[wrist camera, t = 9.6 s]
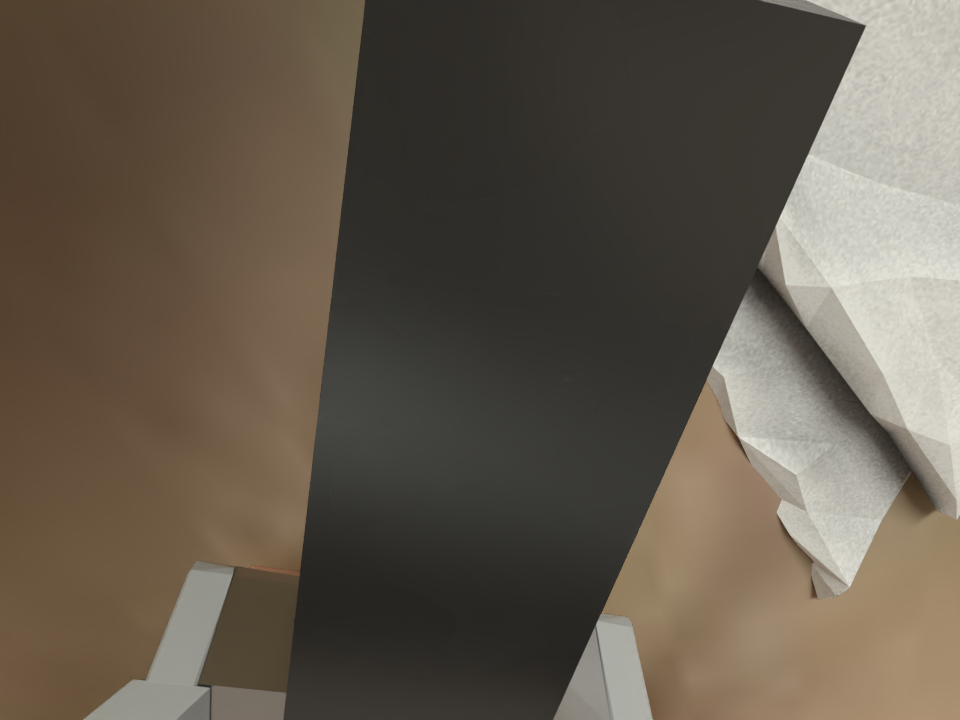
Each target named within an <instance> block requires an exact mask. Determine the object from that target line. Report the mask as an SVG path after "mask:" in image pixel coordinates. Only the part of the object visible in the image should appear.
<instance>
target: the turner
mask: <svg viewBox="0 0 960 720" xmlns="http://www.w3.org/2000/svg"><path fill="white" fill-rule="evenodd" d="M865 27H866V25H864V24H862V23H859V22H857V21H854V20H852V19H850V18H847V17H845V16H843V15H840V14H838V13H835V12H833V11H831V10H828V9H826V8H823V7H821V6H819V5H816V4H814V3H811V2H809V1H807V0H365V9H364V18H363V27H362V35H361V44H360V53H359V62H358V70H357V79H356V88H355V97H354V105H353V114H352V123H351V132H350V140H349V149H348V158H347V167H346V175H345V184H344V193H343V202H342V210H341V219H340V228H339V237H338V245H337V254H336V263H335V272H334V280H333V289H332V298H331V307H330V315H329V324H328V333H327V342H326V350H325V359H324V368H323V376H322V385H321V394H320V403H319V411H318V420H317V429H316V438H315V446H314V455H313V464H312V473H311V481H310V490H309V499H308V508H307V516H306V525H305V534H304V543H303V551H302V560H301V569H300V578H299V586H298V595H297V604H296V613H295V621H294V630H293V639H292V648H291V656H290V665H289V674H288V683H287V691H286V700H285V709H284V718H283V720H553V719H554V717H555V715H556V712H557V710H558V708H559V706H560V703H561V701H562V699H563V697H564V695H565V692H566V690H567V688H568V686H569V683H570V681H571V679H572V677H573V675H574V672H575V670H576V668H577V666H578V664H579V661H580V659H581V657H582V655H583V652H584V650H585V648H586V646H587V644H588V641H589V639H590V637H591V635H592V632H593V630H594V628H595V626H596V624H597V621H598V619H599V617H600V615H601V613H602V610H603V608H604V606H605V604H606V601H607V599H608V597H609V595H610V593H611V590H612V588H613V586H614V584H615V582H616V579H617V577H618V575H619V573H620V570H621V568H622V566H623V564H624V562H625V559H626V557H627V555H628V553H629V550H630V548H631V546H632V544H633V542H634V539H635V537H636V535H637V533H638V531H639V528H640V526H641V524H642V522H643V519H644V517H645V515H646V513H647V511H648V508H649V506H650V504H651V502H652V500H653V497H654V495H655V493H656V491H657V488H658V486H659V484H660V482H661V480H662V477H663V475H664V473H665V471H666V468H667V466H668V464H669V462H670V460H671V457H672V455H673V453H674V451H675V449H676V446H677V444H678V442H679V440H680V437H681V435H682V433H683V431H684V429H685V426H686V424H687V422H688V420H689V418H690V415H691V413H692V411H693V409H694V406H695V404H696V402H697V400H698V398H699V395H700V393H701V391H702V389H703V386H704V384H705V382H706V380H707V378H708V375H709V373H710V371H711V369H712V367H713V364H714V362H715V360H716V358H717V355H718V353H719V351H720V349H721V347H722V344H723V342H724V340H725V338H726V335H727V333H728V331H729V329H730V327H731V324H732V322H733V320H734V318H735V316H736V313H737V311H738V309H739V307H740V304H741V302H742V300H743V298H744V296H745V293H746V291H747V289H748V287H749V285H750V282H751V280H752V278H753V276H754V273H755V271H756V269H757V267H758V265H759V262H760V260H761V258H762V256H763V253H764V251H765V249H766V247H767V245H768V242H769V240H770V238H771V236H772V234H773V231H774V229H775V227H776V225H777V222H778V220H779V218H780V216H781V214H782V211H783V209H784V207H785V205H786V203H787V200H788V198H789V196H790V194H791V191H792V189H793V187H794V185H795V183H796V180H797V178H798V176H799V174H800V171H801V169H802V167H803V165H804V163H805V160H806V158H807V156H808V154H809V152H810V149H811V147H812V145H813V143H814V140H815V138H816V136H817V134H818V132H819V129H820V127H821V125H822V123H823V120H824V118H825V116H826V114H827V112H828V109H829V107H830V105H831V103H832V101H833V98H834V96H835V94H836V92H837V89H838V87H839V85H840V83H841V81H842V78H843V76H844V74H845V72H846V70H847V67H848V65H849V63H850V61H851V58H852V56H853V54H854V52H855V50H856V47H857V45H858V43H859V41H860V38H861V36H862V34H863V32H864V30H865Z"/></svg>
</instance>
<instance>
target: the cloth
mask: <svg viewBox="0 0 960 720" xmlns="http://www.w3.org/2000/svg"><path fill="white" fill-rule="evenodd" d="M807 1H809V2H811V3H814V4H816V5H819V6H821V7H823V8H826V9H828V10H831V11H833V12H835V13H838V14H840V15H843V16H845V17H847V18H850V19H852V20H854V21H857V22H859V23H862V24H864V25H866V27H865V30H864V32H863V34H862V36H861V38H860V41H859V43H858V45H857V47H856V50H855V52H854V54H853V56H852V58H851V61H850V63H849V65H848V67H847V70H846V72H845V74H844V76H843V78H842V81H841V83H840V85H839V87H838V89H837V92H836V94H835V96H834V98H833V101H832V103H831V105H830V107H829V109H828V112H827V114H826V116H825V118H824V120H823V123H822V125H821V127H820V129H819V132H818V134H817V136H816V138H815V140H814V143H813V145H812V147H811V149H810V152H809V154H808V156H807V158H806V160H805V163H804V165H803V167H802V169H801V171H800V174H799V176H798V178H797V180H796V183H795V185H794V187H793V189H792V191H791V194H790V196H789V198H788V200H787V203H786V205H785V207H784V209H783V211H782V214H781V216H780V218H779V220H778V222H777V225H776V227H775V229H774V231H773V234H772V236H771V238H770V240H769V242H768V245H767V247H766V249H765V251H764V253H763V256H762V258H761V260H760V262H759V265H758V267H757V269H756V271H755V273H754V276H753V278H752V280H751V282H750V285H749V287H748V289H747V291H746V293H745V296H744V298H743V300H742V302H741V304H740V307H739V309H738V311H737V313H736V316H735V318H734V320H733V322H732V324H731V327H730V329H729V331H728V333H727V335H726V338H725V340H724V342H723V344H722V347H721V349H720V351H719V353H718V355H717V358H716V360H715V362H714V364H713V367H712V369H711V371H710V373H709V375H708V378H707V381H708V383H709V385H710V386H711V388H712V390H713V392H714V394H715V395H716V397H717V399H718V402H719V405H720V408H721V410H722V413H723V416H724V419H725V421H726V422H727V423H728V425H729V426H730V427H731V428H732V430H733V431H734V432H735V433H736V435H737V436H738V437H739V440H740V442H741V444H742V446H743V448H744V450H745V453H746V455H747V457H748V459H749V461H750V463H751V465H752V466H753V467H754V468H755V469H756V471H757V472H758V473H759V474H760V475H761V476H762V477H763V479H764V480H765V481H766V482H767V483H768V484H769V485H770V487H771V488H772V489H773V490H774V491H775V492H776V493H777V495H778V496H779V497H780V498H781V499H782V501H781V503H780V506H779V508H778V511H777V514H778V516H779V518H780V519H781V521H782V523H783V524H784V526H785V528H786V529H787V531H788V533H789V534H790V536H791V537H792V538H793V540H794V541H795V542H796V544H797V545H798V546H799V547H800V548H801V549H802V550H803V551H804V552H805V553H806V554H807V555H808V556H809V557H810V558H811V559H812V560H813V561H814V562H813V563H812V570H811V577H812V580H813V583H814V587H815V590H816V593H817V597H818V600H819V599H826V598H834V597H837V596H839V595H841V594H842V593H843V592H845V591H846V590H847V589H848V588H849V587H850V585H851V583H852V581H853V579H854V577H855V575H856V573H857V571H858V569H859V567H860V564H861V562H862V560H863V558H864V556H865V554H866V552H867V550H868V548H869V546H870V544H871V541H872V539H873V537H874V535H875V533H876V531H877V529H878V527H879V525H880V523H881V521H882V519H883V517H884V515H885V514H886V512H887V511H888V509H889V507H890V506H891V504H892V503H893V501H894V499H895V498H896V496H897V494H898V493H899V491H900V490H901V488H902V486H903V485H904V483H905V481H906V480H907V478H908V477H909V475H910V473H911V472H913V473H914V475H915V476H916V478H917V480H918V481H919V483H920V484H921V486H922V488H923V489H924V491H925V492H926V494H927V496H928V497H929V499H930V500H931V502H932V504H933V505H934V507H935V508H936V510H937V511H939V512H941V513H943V514H945V515H947V516H949V517H951V518H954V519H956V520H957V518H958V517H959V515H960V0H807Z"/></svg>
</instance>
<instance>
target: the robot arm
mask: <svg viewBox="0 0 960 720" xmlns="http://www.w3.org/2000/svg"><path fill="white" fill-rule="evenodd" d="M299 578H300V576H296V575H289V574H283V573H276V572H270V571H263V570H257V569H250V568H244V567H237V566H230V565H222V564H215V563H208V562H201V561H196V562H195V563H194V565H193V566H192V568H191V569H190V571H189V572H188V574H187V577H186V579H185V582H184V584H183V587H182V590H181V592H180V595H179V597H178V600H177V602H176V605H175V607H174V610H173V612H172V615H171V617H170V620H169V622H168V625H167V627H166V630H165V632H164V635H163V638H162V640H161V643H160V645H159V648H158V650H157V653H156V655H155V658H154V660H153V663H152V665H151V668H150V670H149V673H148V675H147V678H146V680H139V679H132V680H131V681H129V682H128V683H127V684H126V685H125V686H123V687H122V688H121V689H120V690H118V691H117V692H116V693H115V694H113V695H112V696H111V697H110V698H108V699H107V700H106V701H105V702H103V703H102V704H101V705H100V706H99V707H97V708H96V709H95V710H94V711H92V712H91V713H90V714H89V715H87V716H86V717H85V718H84V719H82V720H283V718H284V709H285V700H286V691H287V683H288V674H289V665H290V656H291V648H292V639H293V630H294V621H295V613H296V604H297V595H298V586H299ZM553 720H653V717H652V713H651V708H650V703H649V699H648V694H647V690H646V685H645V681H644V676H643V671H642V667H641V662H640V658H639V653H638V649H637V644H636V639H635V635H634V630H633V626H632V623H631V622H630V620H629V619H628V617H624V616H616V615H609V614H601V615H600V617H599V619H598V621H597V624H596V626H595V628H594V630H593V632H592V635H591V637H590V639H589V641H588V644H587V646H586V648H585V650H584V652H583V655H582V657H581V659H580V661H579V664H578V666H577V668H576V670H575V672H574V675H573V677H572V679H571V681H570V683H569V686H568V688H567V690H566V692H565V695H564V697H563V699H562V701H561V703H560V706H559V708H558V710H557V712H556V715H555V717H554V719H553Z"/></svg>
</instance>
